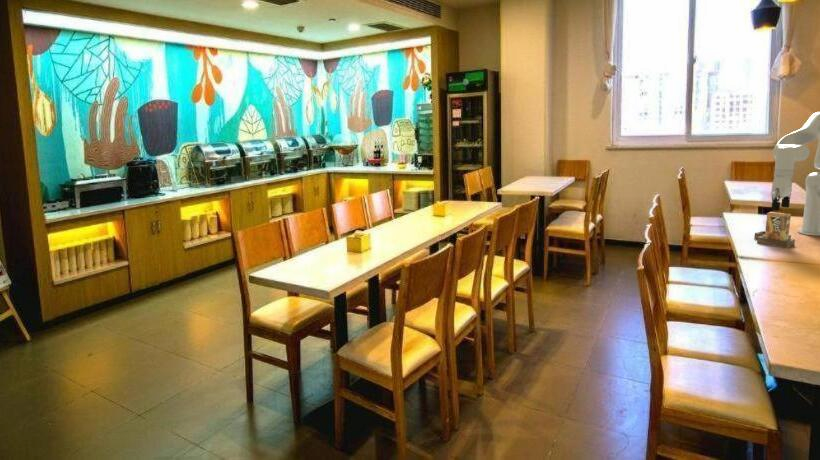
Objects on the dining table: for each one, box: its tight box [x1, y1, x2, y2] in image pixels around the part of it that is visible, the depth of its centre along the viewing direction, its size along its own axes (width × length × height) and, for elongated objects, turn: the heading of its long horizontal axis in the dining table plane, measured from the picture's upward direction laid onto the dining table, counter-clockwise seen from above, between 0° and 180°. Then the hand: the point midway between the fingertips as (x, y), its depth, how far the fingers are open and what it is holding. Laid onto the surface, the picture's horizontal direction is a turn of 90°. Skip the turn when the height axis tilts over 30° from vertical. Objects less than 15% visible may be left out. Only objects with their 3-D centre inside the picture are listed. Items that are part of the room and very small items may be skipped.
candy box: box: [765, 211, 792, 241], centre depth 265 cm, size 9×4×15 cm, turn 34°
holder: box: [754, 230, 796, 249], centre depth 270 cm, size 16×18×3 cm
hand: (780, 208), depth 263 cm, fingers open, 9 cm apart
